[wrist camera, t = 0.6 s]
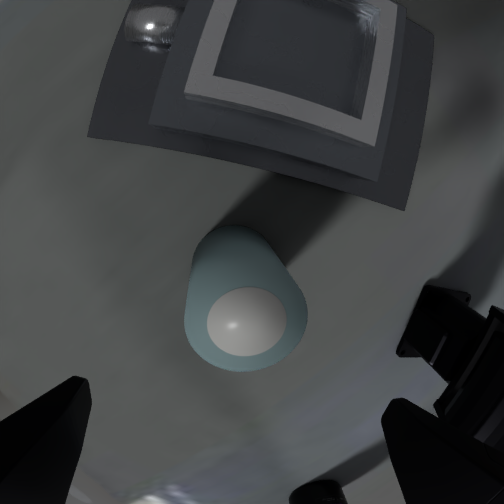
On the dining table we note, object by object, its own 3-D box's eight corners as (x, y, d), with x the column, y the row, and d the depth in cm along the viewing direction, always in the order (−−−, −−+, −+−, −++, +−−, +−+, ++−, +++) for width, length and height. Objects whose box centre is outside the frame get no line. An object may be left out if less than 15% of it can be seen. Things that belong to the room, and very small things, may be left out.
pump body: (283, 234, 19) (323, 277, 12) (262, 308, 20) (288, 376, 13) (201, 217, 18) (195, 253, 11) (186, 295, 19) (176, 363, 12)
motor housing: (427, 38, 16) (465, 23, 11) (397, 209, 19) (439, 223, 15) (160, -47, 12) (152, -85, 7) (91, 137, 15) (58, 132, 11)
